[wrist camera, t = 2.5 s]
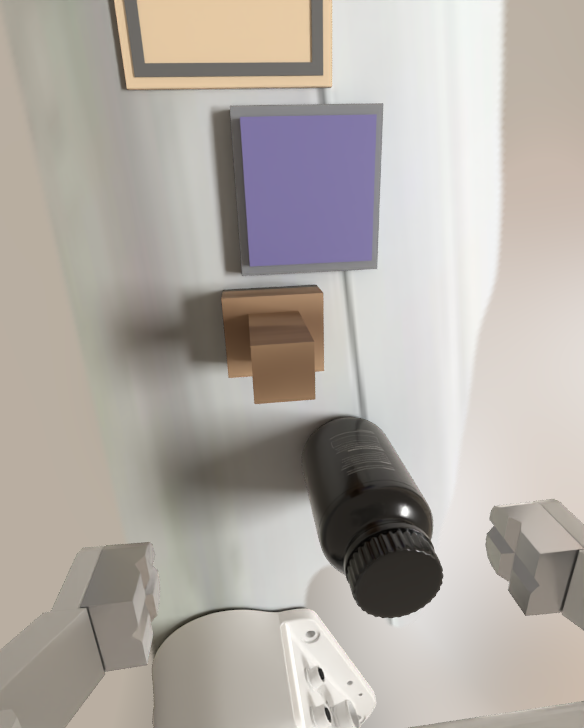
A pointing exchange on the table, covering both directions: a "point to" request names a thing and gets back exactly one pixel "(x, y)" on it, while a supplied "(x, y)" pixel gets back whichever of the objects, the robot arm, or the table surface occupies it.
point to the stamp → (275, 340)
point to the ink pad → (307, 186)
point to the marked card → (225, 43)
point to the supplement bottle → (371, 517)
